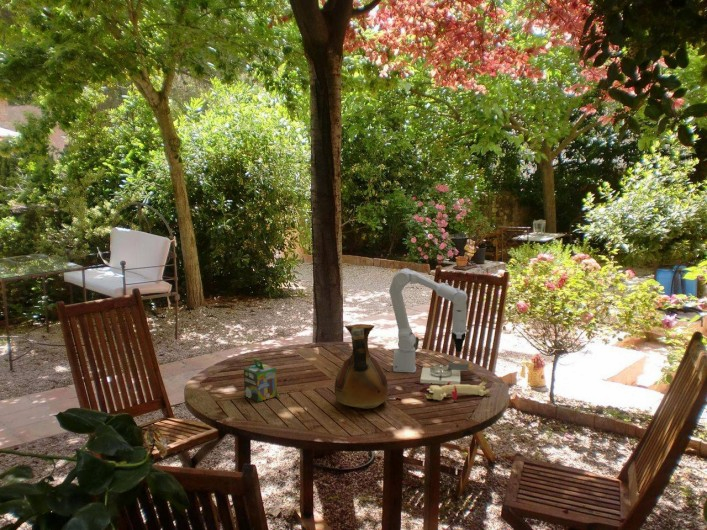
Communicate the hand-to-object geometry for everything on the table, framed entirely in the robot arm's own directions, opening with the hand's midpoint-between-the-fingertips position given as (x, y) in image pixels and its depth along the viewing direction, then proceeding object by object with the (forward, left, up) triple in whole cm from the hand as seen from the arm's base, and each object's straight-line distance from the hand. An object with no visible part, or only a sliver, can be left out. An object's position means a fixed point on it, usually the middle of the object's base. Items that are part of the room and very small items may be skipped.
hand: (458, 350), depth 256 cm
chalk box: (-74, -40, -11) cm, 85 cm away
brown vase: (-35, -41, -11) cm, 55 cm away
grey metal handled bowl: (-3, -6, -9) cm, 11 cm away
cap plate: (-7, -5, -10) cm, 14 cm away
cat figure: (0, -27, -11) cm, 29 cm away
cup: (-22, +27, -11) cm, 36 cm away
